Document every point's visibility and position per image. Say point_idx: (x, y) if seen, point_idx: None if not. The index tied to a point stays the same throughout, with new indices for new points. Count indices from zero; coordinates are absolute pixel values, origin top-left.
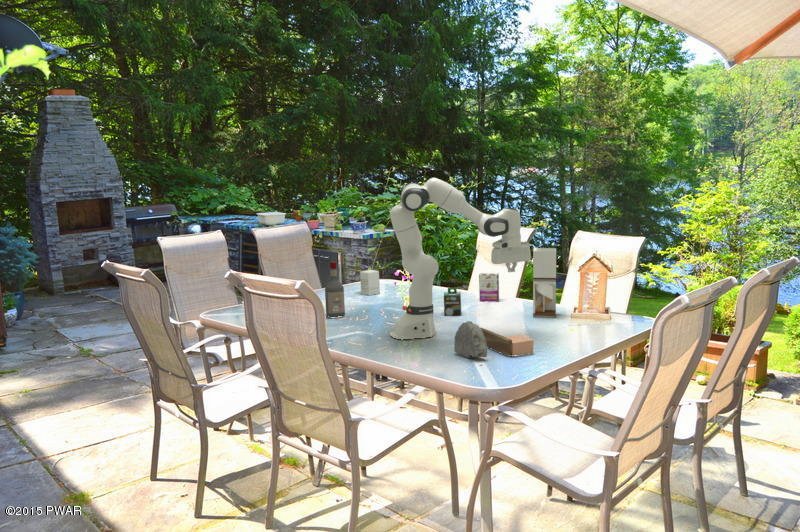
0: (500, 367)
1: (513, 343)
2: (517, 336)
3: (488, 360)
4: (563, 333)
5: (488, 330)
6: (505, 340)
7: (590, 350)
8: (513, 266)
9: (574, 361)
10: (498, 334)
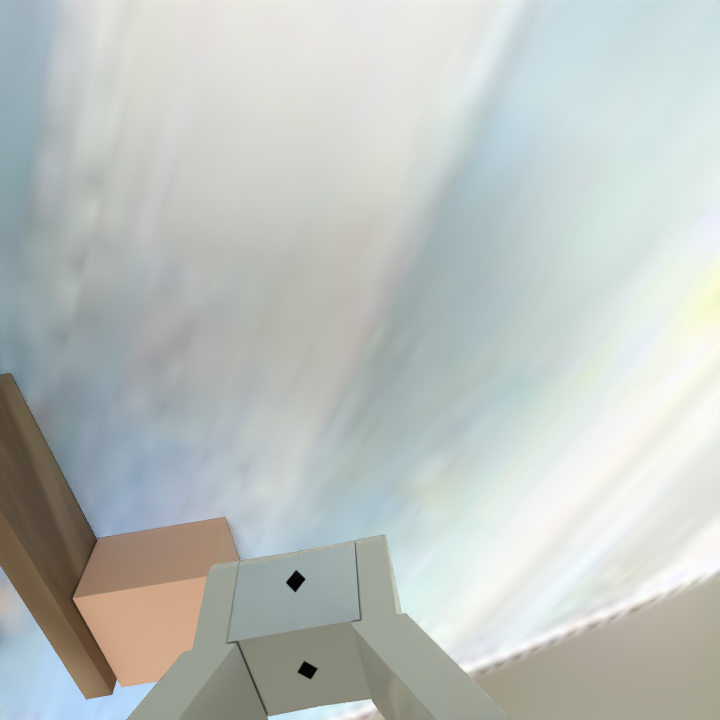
0: (43, 712)
1: (123, 685)
2: (187, 601)
3: (4, 640)
4: (627, 344)
5: (4, 518)
6: (78, 680)
7: (527, 626)
8: (393, 705)
9: (372, 711)
10: (57, 605)
